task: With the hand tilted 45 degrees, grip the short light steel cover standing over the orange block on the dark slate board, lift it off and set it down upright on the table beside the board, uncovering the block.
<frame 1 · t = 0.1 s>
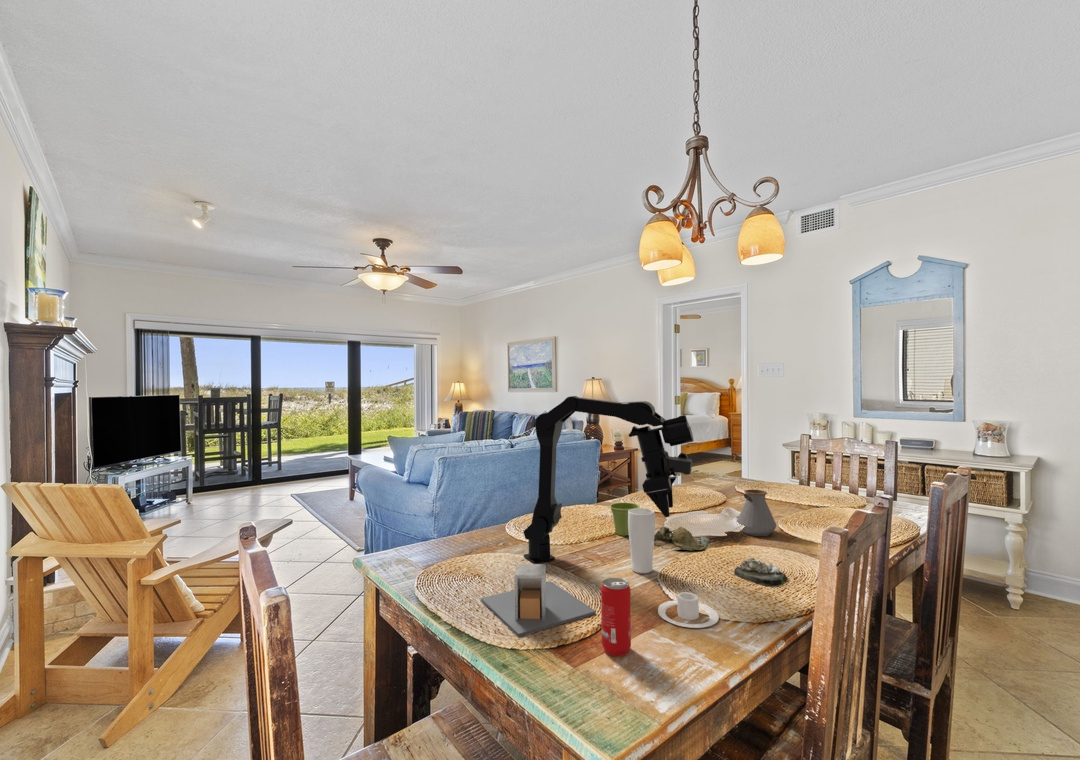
hand: (669, 511, 124), 15 cm above the table, tool pointing down, fingers open, 9 cm apart
drinking glass: (641, 571, 126), on the table
olive green lumpy piece: (681, 544, 148), on the table
coffee pot: (752, 537, 152), on the table
plant pot: (625, 534, 157), on the table
orange block: (530, 604, 102), in the steel cover, point 3 cm above the table, touching slate board
steel cover: (530, 591, 102), on the slate board, point 5 cm above the table
slate board: (536, 607, 106), on the table
beverage can: (616, 651, 89), on the table
candle holder: (687, 617, 102), on the table
stone carving: (760, 578, 122), on the table
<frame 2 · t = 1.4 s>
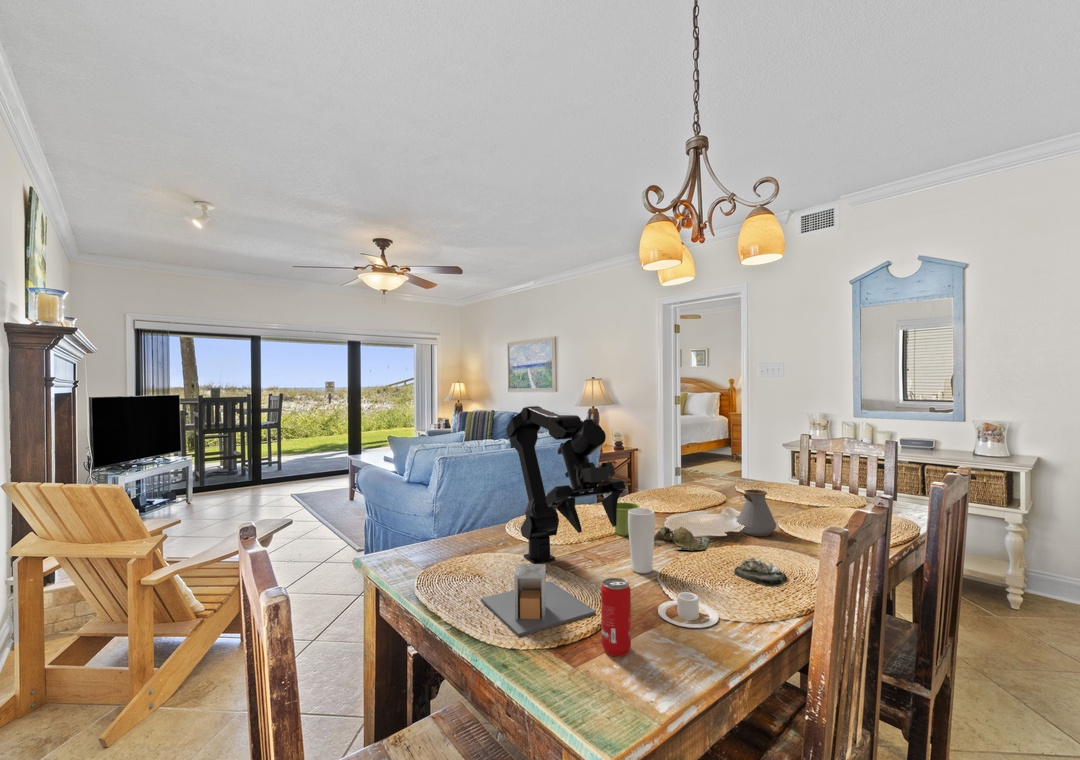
hand: (597, 529, 110), 15 cm above the table, tool tilted 30°, fingers open, 9 cm apart
nothing on the table moved.
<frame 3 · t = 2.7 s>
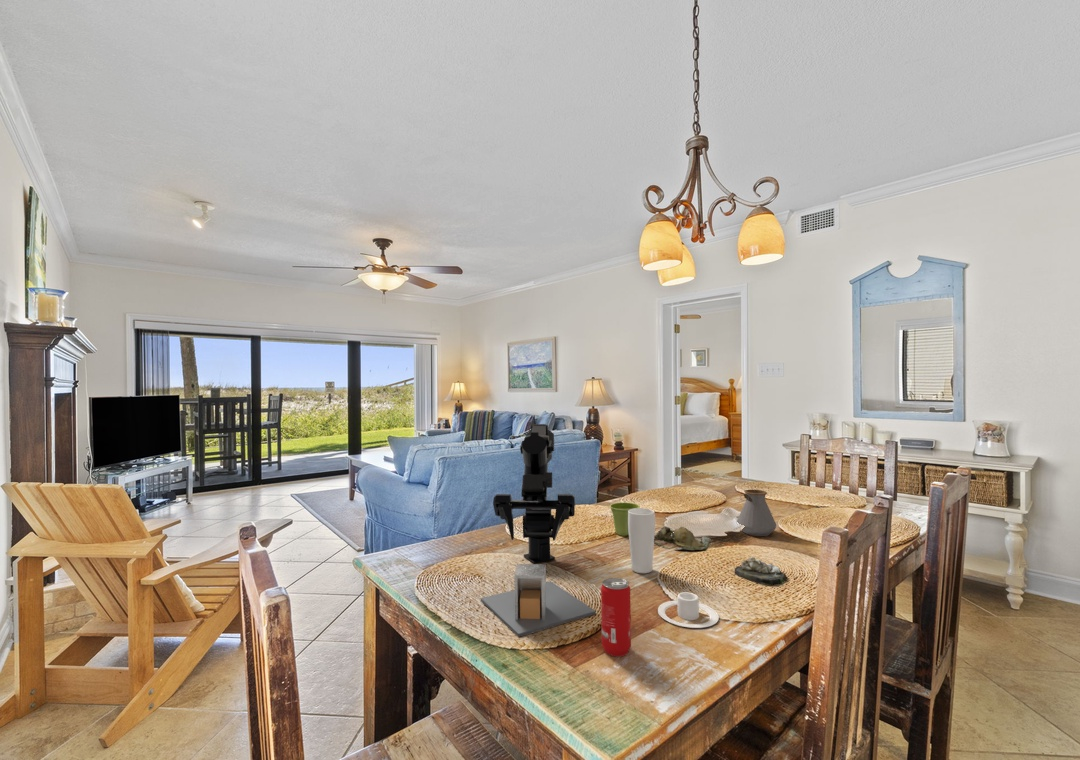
hand: (532, 539, 110), 13 cm above the table, tool tilted 45°, fingers open, 9 cm apart
nothing on the table moved.
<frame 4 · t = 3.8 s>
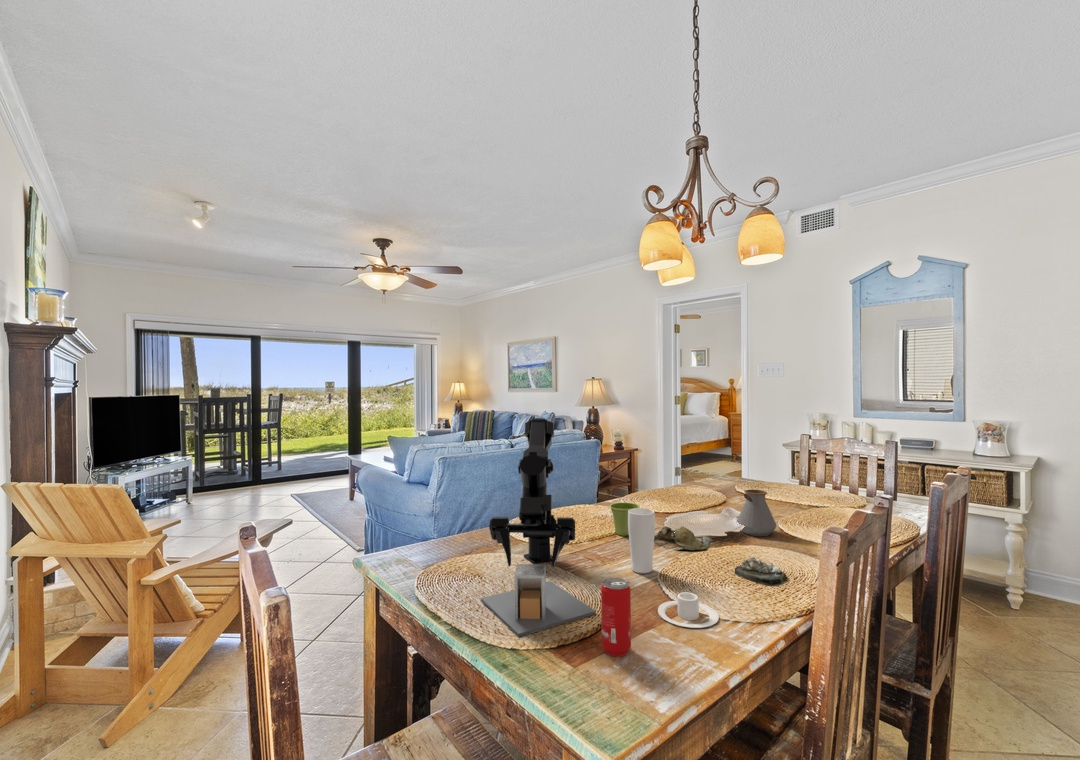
hand: (531, 565, 104), 10 cm above the table, tool tilted 45°, fingers open, 9 cm apart
nothing on the table moved.
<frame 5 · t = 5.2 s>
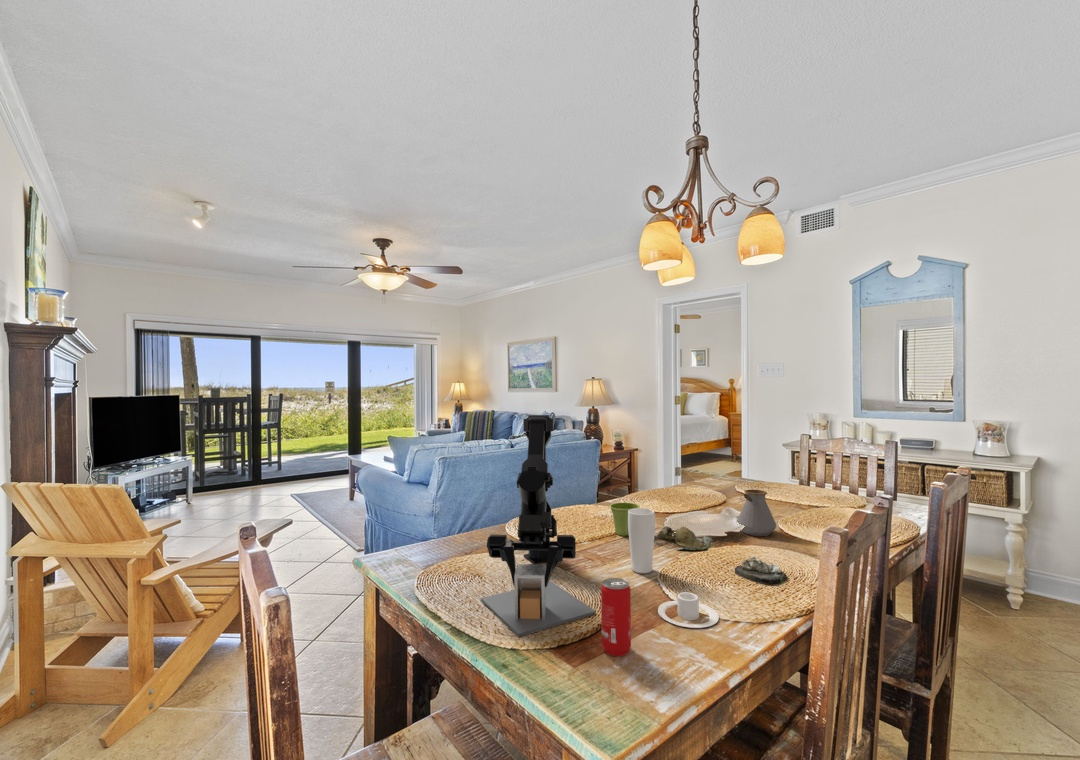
hand: (530, 586, 101), 7 cm above the table, tool tilted 45°, fingers closed on steel cover, 6 cm apart
steel cover: (530, 591, 102), on the slate board, point 5 cm above the table, touching gripper
everything else where it was.
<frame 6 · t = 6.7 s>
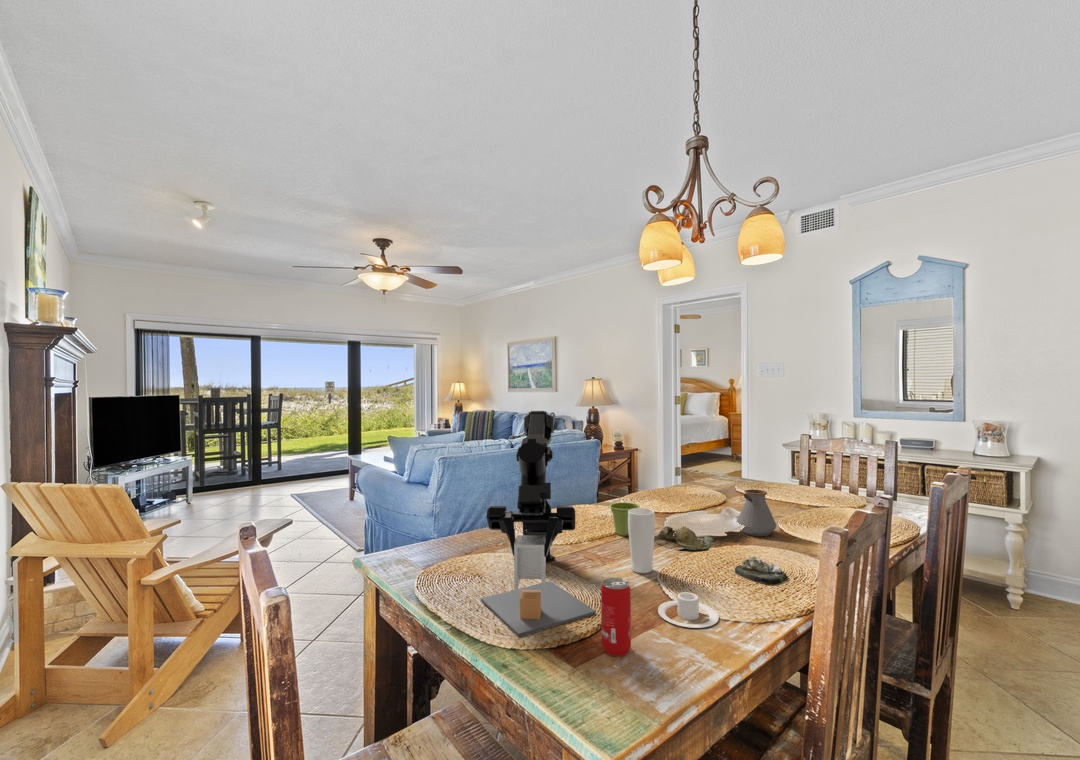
hand: (529, 555, 101), 13 cm above the table, tool tilted 45°, fingers closed on steel cover, 6 cm apart
steel cover: (530, 561, 102), point 11 cm above the table, touching gripper
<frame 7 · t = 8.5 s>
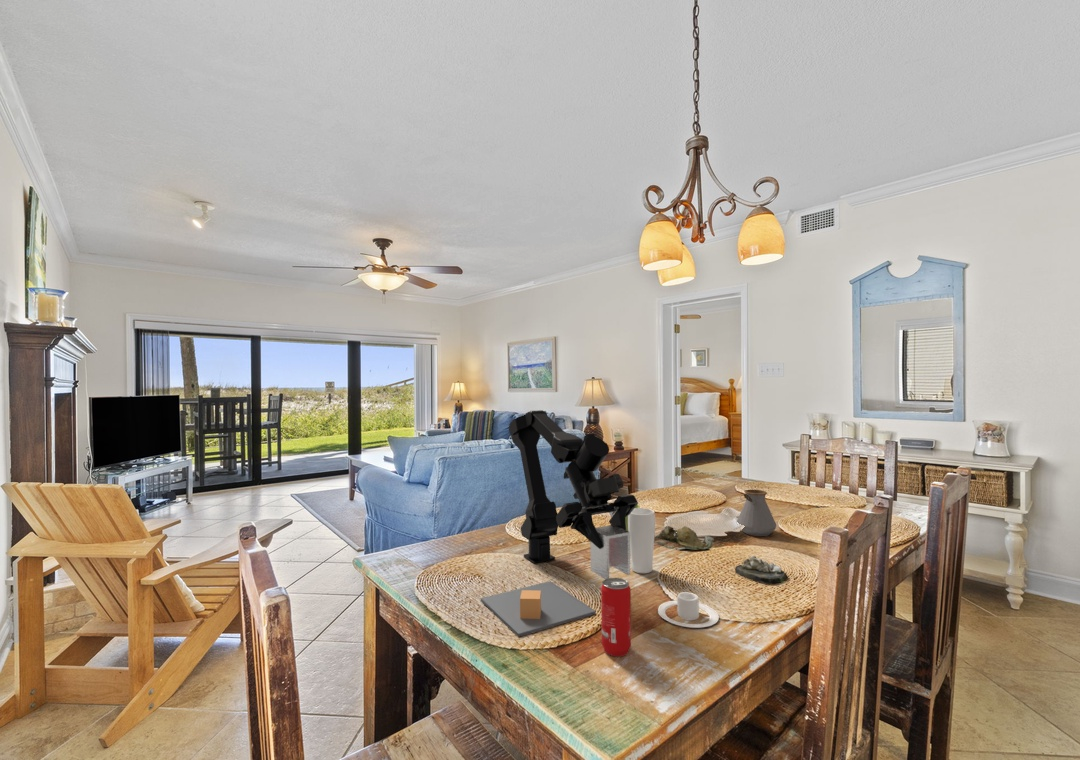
hand: (613, 545, 105), 13 cm above the table, tool tilted 45°, fingers closed on steel cover, 6 cm apart
steel cover: (610, 551, 106), point 12 cm above the table, touching gripper
when the fingers open (7 cm above the table, at t = 10.3 s): steel cover drops 1 cm, on the table.
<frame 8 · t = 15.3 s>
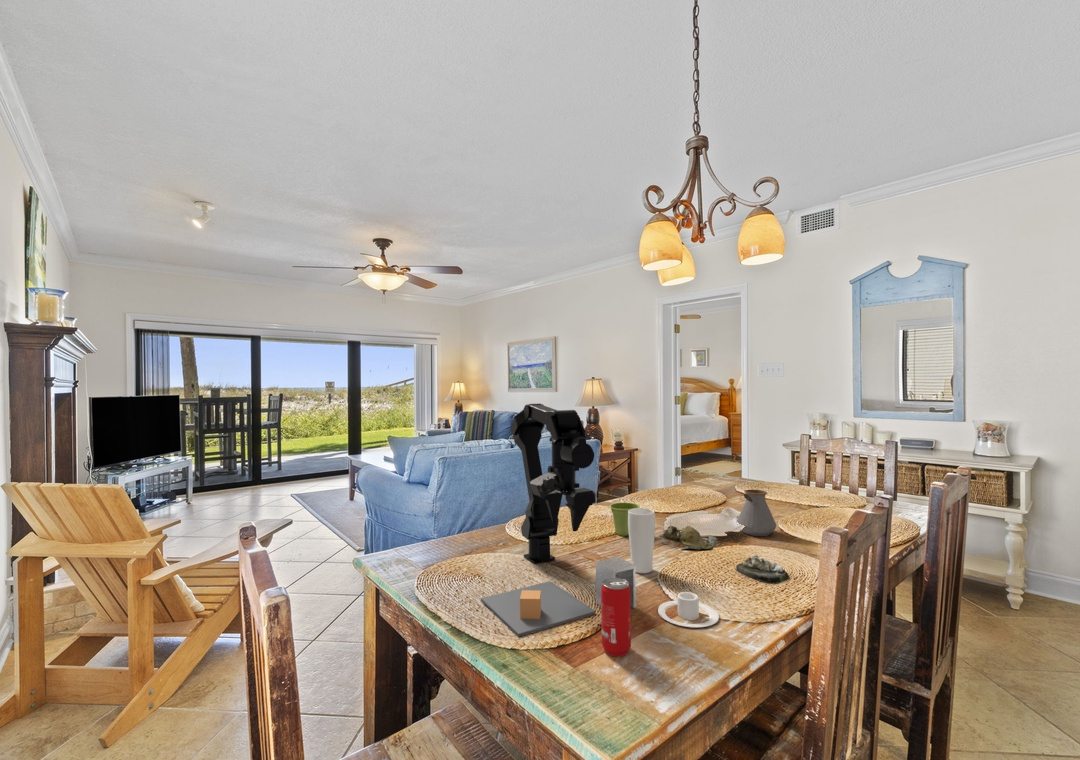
hand: (564, 526, 121), 13 cm above the table, tool pointing down, fingers open, 9 cm apart
olive green lumpy piece: (689, 543, 149), on the table
steel cover: (615, 584, 107), on the table
at the end: steel cover inside the target area (0.4 cm from its centre), on the table; steel cover tilted 0°; orange block moved 0.0 cm from its start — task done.
